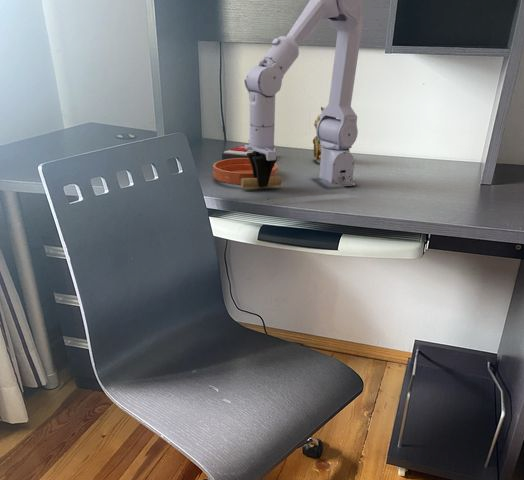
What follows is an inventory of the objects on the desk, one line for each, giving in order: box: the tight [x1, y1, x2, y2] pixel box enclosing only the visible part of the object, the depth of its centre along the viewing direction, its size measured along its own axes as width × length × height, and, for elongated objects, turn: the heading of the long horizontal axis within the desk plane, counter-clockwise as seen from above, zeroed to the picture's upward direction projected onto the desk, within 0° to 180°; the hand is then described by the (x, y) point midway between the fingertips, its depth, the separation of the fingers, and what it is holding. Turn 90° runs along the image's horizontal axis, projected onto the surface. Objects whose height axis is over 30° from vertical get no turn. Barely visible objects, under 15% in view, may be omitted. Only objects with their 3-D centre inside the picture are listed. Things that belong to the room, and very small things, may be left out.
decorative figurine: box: [312, 106, 325, 164], centre depth 158 cm, size 10×8×15 cm
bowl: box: [212, 158, 279, 185], centre depth 141 cm, size 17×17×4 cm
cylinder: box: [240, 175, 282, 190], centre depth 130 cm, size 10×2×2 cm, turn 109°
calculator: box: [221, 144, 254, 160], centre depth 158 cm, size 11×4×15 cm
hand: (261, 185), depth 130 cm, fingers closed on cylinder, 2 cm apart
